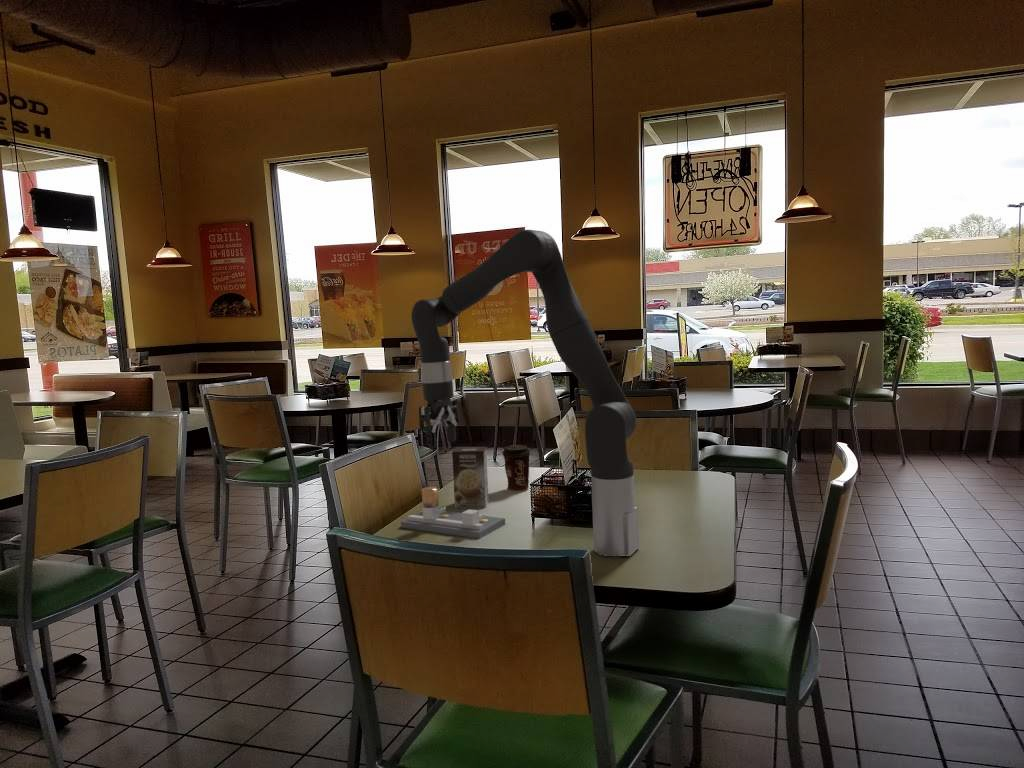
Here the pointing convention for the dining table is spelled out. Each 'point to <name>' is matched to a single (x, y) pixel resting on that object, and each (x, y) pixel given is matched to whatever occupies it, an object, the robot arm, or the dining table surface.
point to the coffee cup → (517, 467)
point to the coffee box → (470, 477)
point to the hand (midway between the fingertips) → (442, 444)
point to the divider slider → (431, 503)
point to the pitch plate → (456, 523)
